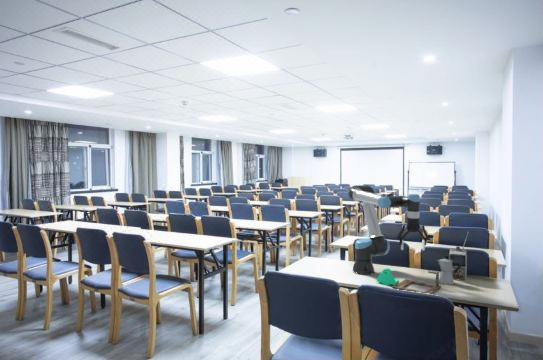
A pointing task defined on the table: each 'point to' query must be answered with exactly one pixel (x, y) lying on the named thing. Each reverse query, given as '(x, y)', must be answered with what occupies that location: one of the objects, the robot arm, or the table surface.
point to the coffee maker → (447, 270)
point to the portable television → (461, 258)
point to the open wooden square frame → (407, 282)
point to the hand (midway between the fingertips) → (412, 249)
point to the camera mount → (387, 278)
